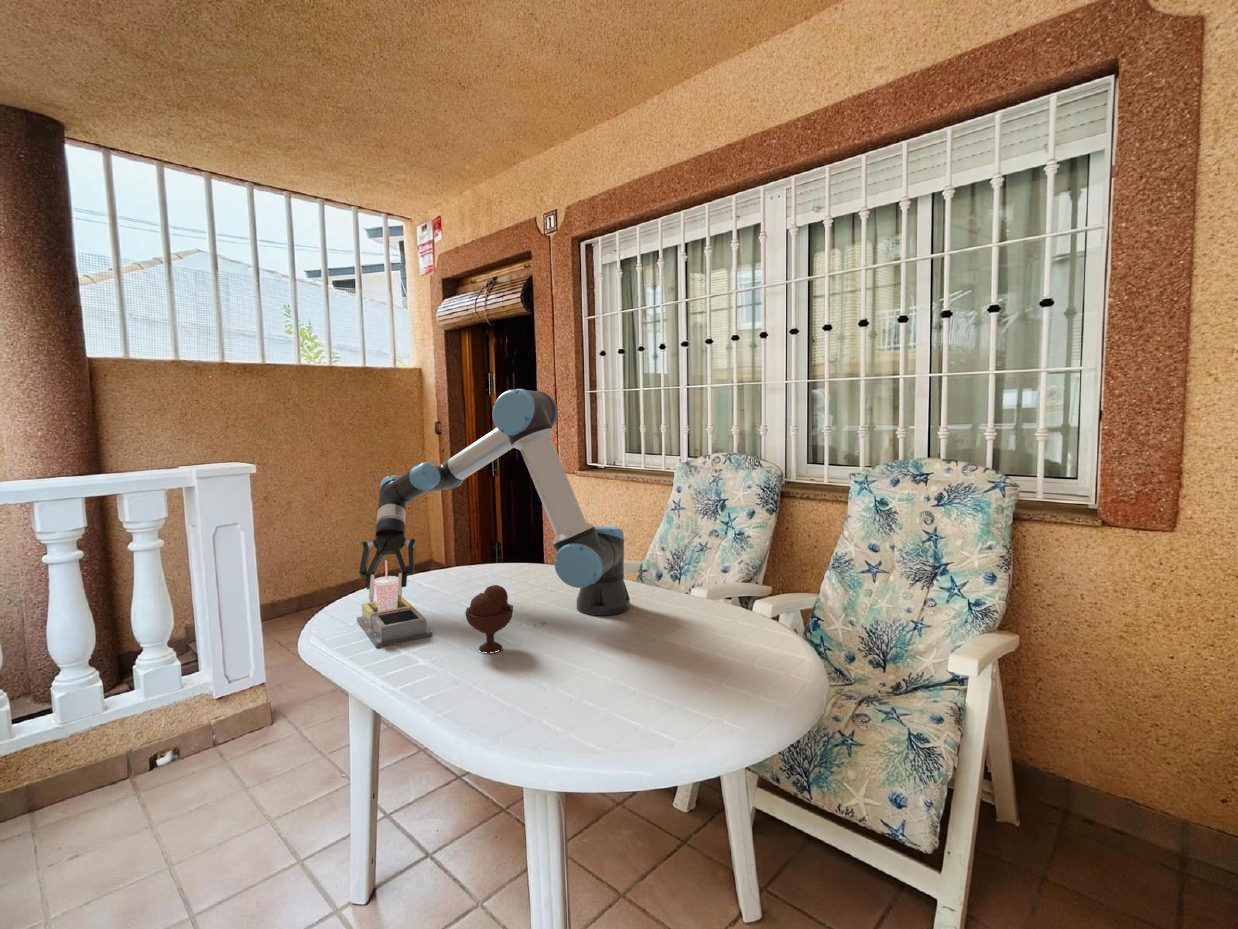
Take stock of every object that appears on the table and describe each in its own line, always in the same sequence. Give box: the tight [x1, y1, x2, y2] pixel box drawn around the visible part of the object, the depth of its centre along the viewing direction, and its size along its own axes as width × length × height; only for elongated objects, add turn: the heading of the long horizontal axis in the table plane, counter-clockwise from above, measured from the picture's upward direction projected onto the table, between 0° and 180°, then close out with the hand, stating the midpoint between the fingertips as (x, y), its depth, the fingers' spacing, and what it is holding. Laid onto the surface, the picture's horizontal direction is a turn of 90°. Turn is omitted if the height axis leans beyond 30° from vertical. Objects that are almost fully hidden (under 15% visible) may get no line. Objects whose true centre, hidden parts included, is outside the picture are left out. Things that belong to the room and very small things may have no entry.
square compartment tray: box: [356, 596, 433, 649], centre depth 147 cm, size 22×13×4 cm, turn 35°
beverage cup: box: [374, 559, 398, 612], centre depth 151 cm, size 6×6×14 cm
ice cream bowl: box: [464, 584, 514, 653], centre depth 133 cm, size 11×11×15 cm
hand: (385, 598), depth 148 cm, fingers closed on beverage cup, 6 cm apart
